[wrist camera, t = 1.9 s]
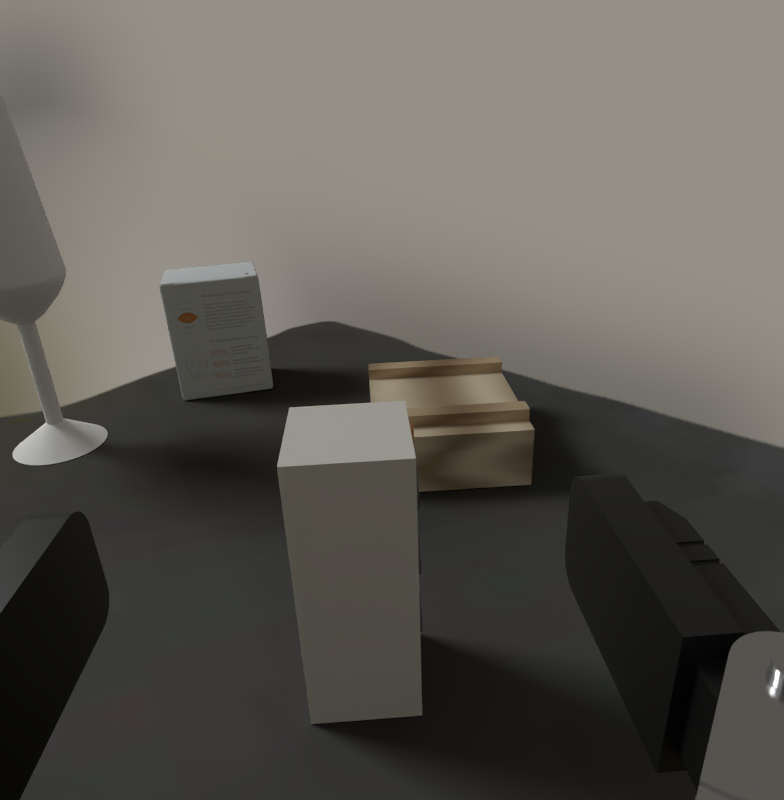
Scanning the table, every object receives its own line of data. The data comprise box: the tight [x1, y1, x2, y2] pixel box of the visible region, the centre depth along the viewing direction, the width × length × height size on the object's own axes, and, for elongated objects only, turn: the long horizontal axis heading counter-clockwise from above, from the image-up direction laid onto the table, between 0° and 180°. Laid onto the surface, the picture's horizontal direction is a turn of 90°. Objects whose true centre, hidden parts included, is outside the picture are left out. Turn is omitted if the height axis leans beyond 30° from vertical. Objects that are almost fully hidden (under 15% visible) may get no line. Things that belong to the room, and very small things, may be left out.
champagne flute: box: [0, 96, 108, 465], centre depth 43 cm, size 7×7×24 cm
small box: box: [160, 262, 273, 401], centre depth 55 cm, size 8×6×10 cm
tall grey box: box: [277, 401, 422, 724], centre depth 25 cm, size 5×4×12 cm
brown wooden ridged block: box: [369, 357, 535, 492], centre depth 45 cm, size 10×12×5 cm
